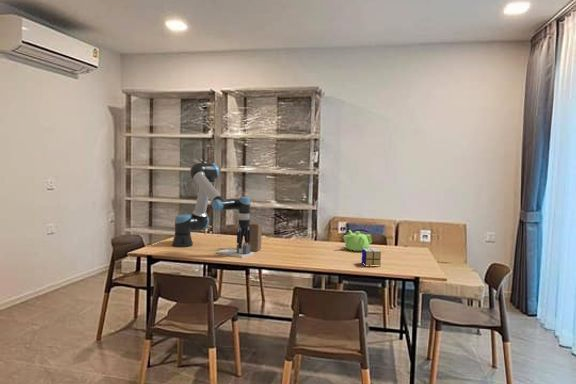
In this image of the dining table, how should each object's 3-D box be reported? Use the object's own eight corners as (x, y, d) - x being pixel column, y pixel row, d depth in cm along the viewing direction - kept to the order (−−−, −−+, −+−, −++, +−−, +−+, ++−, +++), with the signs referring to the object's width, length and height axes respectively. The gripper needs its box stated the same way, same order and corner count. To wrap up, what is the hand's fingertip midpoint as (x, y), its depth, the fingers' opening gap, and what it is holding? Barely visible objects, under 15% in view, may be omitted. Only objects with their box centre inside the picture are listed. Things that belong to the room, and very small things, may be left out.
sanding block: (236, 252, 301) (236, 244, 300) (240, 251, 305) (241, 243, 305) (245, 254, 297) (246, 245, 296) (250, 253, 301) (250, 244, 301)
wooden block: (257, 251, 314) (258, 224, 313) (244, 250, 316) (245, 223, 315) (261, 249, 324) (262, 222, 323) (248, 248, 326) (249, 222, 325)
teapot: (364, 253, 323) (365, 234, 322) (339, 250, 332) (340, 231, 331) (372, 249, 339) (373, 231, 338) (348, 246, 349) (349, 228, 348)
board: (216, 253, 304) (216, 251, 304) (228, 250, 316) (228, 248, 316) (241, 257, 293) (242, 255, 293) (253, 254, 305) (253, 252, 305)
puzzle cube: (361, 263, 291) (362, 248, 290) (375, 263, 292) (376, 248, 291) (365, 266, 281) (366, 251, 280) (380, 266, 282) (381, 251, 281)
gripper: (240, 221, 290) (239, 255, 291) (256, 218, 305) (254, 251, 307) (231, 219, 294) (230, 253, 295) (247, 217, 309) (246, 249, 311)
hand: (243, 252), depth 301 cm, fingers closed on sanding block, 5 cm apart
